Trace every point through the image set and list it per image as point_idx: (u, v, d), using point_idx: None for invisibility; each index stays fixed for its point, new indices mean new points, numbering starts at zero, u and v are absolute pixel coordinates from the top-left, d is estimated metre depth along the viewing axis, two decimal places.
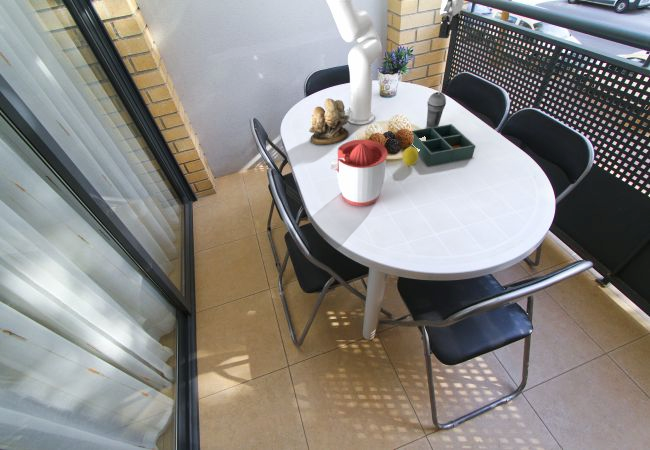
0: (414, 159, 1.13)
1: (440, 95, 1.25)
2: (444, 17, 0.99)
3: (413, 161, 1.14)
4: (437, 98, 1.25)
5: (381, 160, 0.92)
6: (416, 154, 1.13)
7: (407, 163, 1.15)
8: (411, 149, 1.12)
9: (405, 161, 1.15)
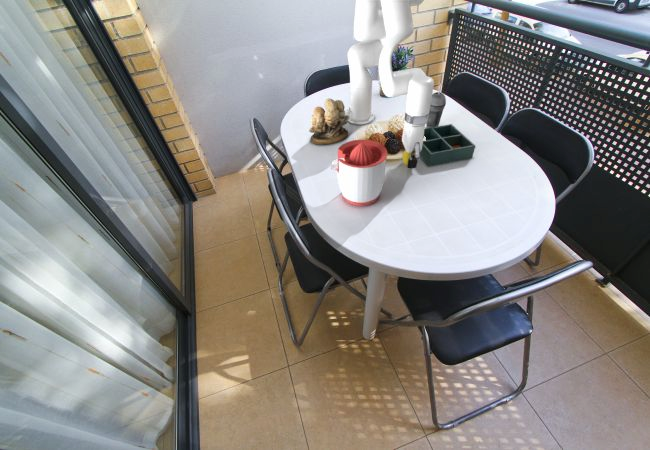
0: None
1: (440, 95, 1.25)
2: (415, 158, 1.08)
3: None
4: (437, 98, 1.25)
5: (381, 160, 0.92)
6: None
7: (407, 163, 1.15)
8: None
9: (405, 161, 1.15)
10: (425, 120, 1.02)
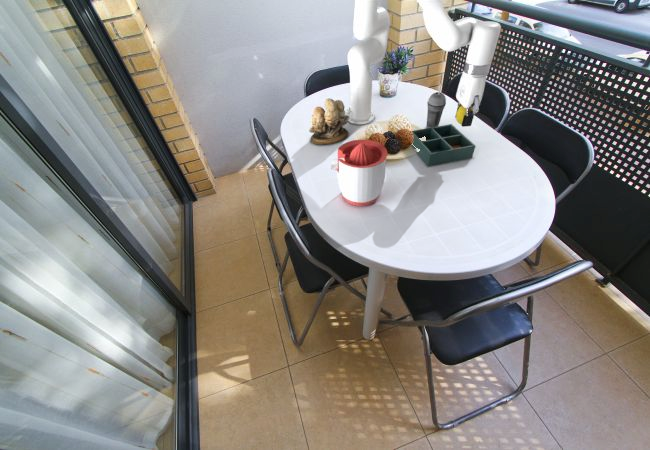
0: None
1: (440, 95, 1.25)
2: (474, 113, 1.04)
3: None
4: (437, 98, 1.25)
5: (381, 160, 0.92)
6: None
7: (461, 121, 1.10)
8: None
9: (459, 119, 1.10)
10: (487, 70, 0.98)
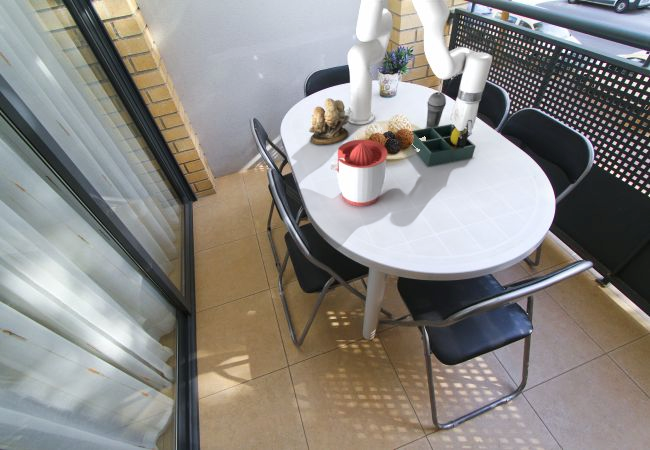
0: None
1: (440, 95, 1.25)
2: (467, 136, 1.10)
3: None
4: (437, 98, 1.25)
5: (381, 160, 0.92)
6: None
7: (456, 142, 1.16)
8: None
9: (454, 140, 1.16)
10: (479, 97, 1.03)
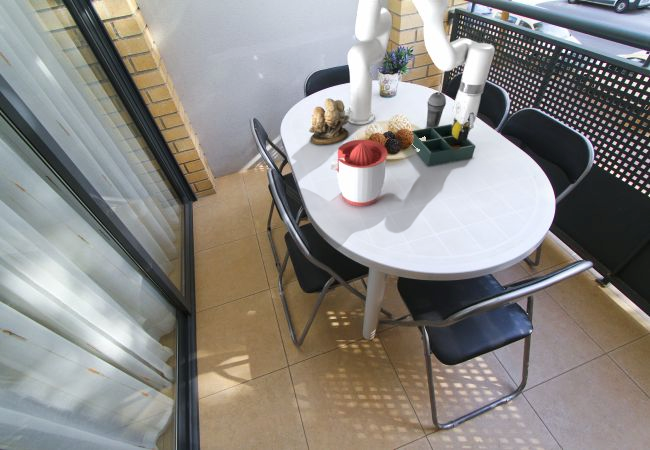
0: None
1: (440, 95, 1.25)
2: (469, 129, 1.08)
3: None
4: (437, 98, 1.25)
5: (381, 160, 0.92)
6: None
7: (457, 136, 1.14)
8: None
9: (455, 134, 1.14)
10: (482, 89, 1.02)
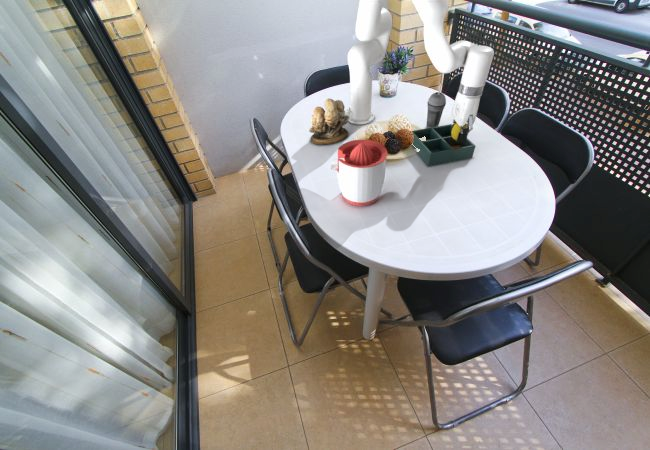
0: None
1: (440, 95, 1.25)
2: (468, 131, 1.08)
3: None
4: (437, 98, 1.25)
5: (381, 160, 0.92)
6: None
7: (456, 137, 1.15)
8: None
9: (454, 135, 1.15)
10: (481, 92, 1.02)
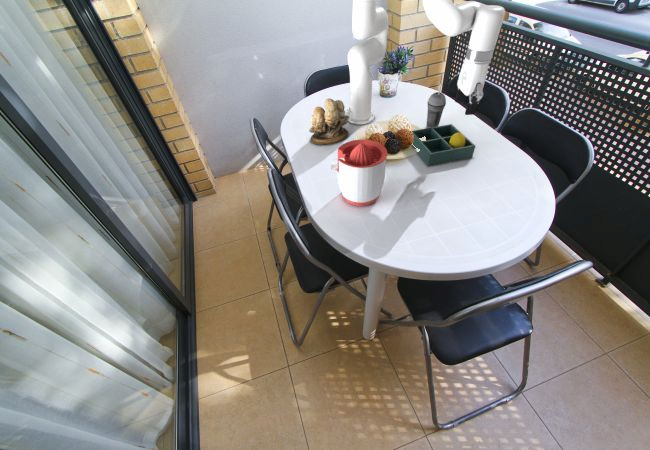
0: (461, 144, 1.16)
1: (440, 95, 1.25)
2: (478, 99, 0.99)
3: (460, 146, 1.17)
4: (437, 98, 1.25)
5: (381, 160, 0.92)
6: (463, 139, 1.16)
7: (454, 148, 1.18)
8: (459, 134, 1.15)
9: (452, 146, 1.18)
10: (490, 57, 0.95)
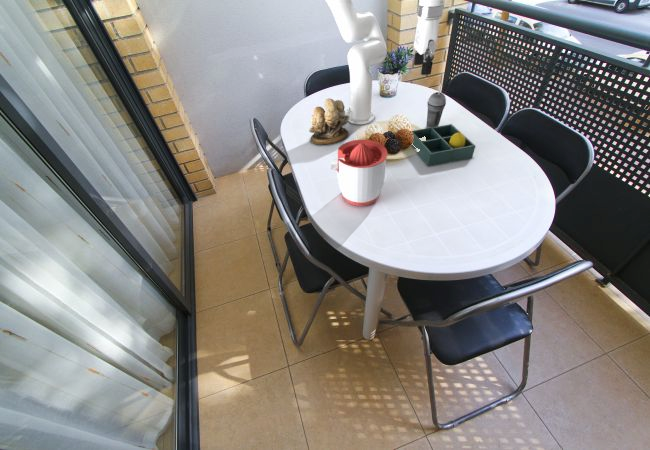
0: (461, 144, 1.16)
1: (440, 95, 1.25)
2: (431, 56, 1.00)
3: (460, 146, 1.17)
4: (437, 98, 1.25)
5: (381, 160, 0.92)
6: (463, 139, 1.16)
7: (454, 148, 1.18)
8: (459, 134, 1.15)
9: (452, 146, 1.18)
10: (440, 13, 0.96)
